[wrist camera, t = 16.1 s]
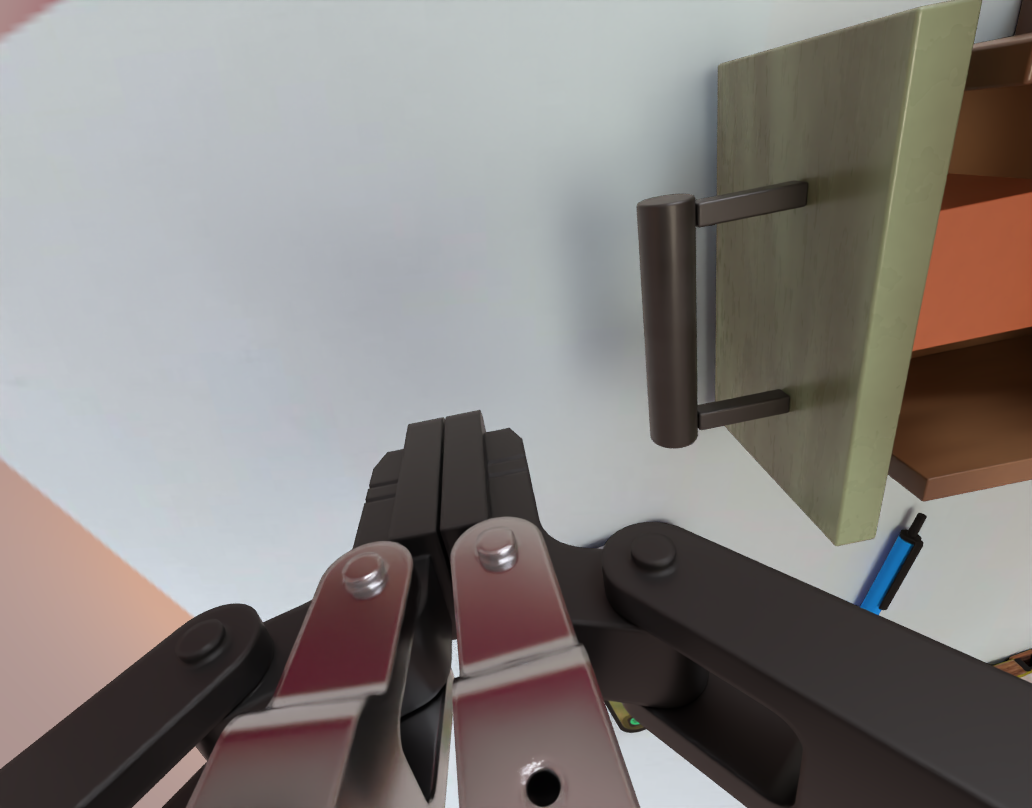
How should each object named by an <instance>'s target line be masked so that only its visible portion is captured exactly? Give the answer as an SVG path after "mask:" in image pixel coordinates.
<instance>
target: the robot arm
mask: <svg viewBox="0 0 1032 808" xmlns="http://www.w3.org/2000/svg"><path fill="white" fill-rule="evenodd" d="M369 487H370V489H368V492H367V496H366V499H365V500H366V503H364V507H363V511H362V515H361V519H360V522H359V526H358V530H357V534H356V538H355V542H354V545H353V549H352V550H351V551H349V552H347V553H345V554H344V555H342V556H341V557H340V558H338V559H337V560H336V561H335V562H334V563H332V565H331V566H330V567H329V568H328V569H327V570H326V572H325V573H324V574H323V576H322V578H321V580H320V582H319V584H318V587H317V589H316V592H315V594H314V597H313V599H312V600H311V601H309V602H307V603H305V604H303V605H301V606H299V607H296V608H294V609H292V610H290V611H287V612H285V613H283V614H281V615H279V616H276V617H274V618H272V619H270V620H267V621H265V622H262V620H261V619H260V617H259V615H258V614H257V612H256V610H255V609H253V608H252V607H251V606H248V605H246V604H227V605H222V606H219V607H215V608H213V609H210V610H208V611H206V612H204V613H202V614H200V615H198V616H196V617H194V618H193V619H191V620H189V621H188V622H187V623H185V624H184V625H182V626H181V627H180V628H178V629H177V630H176V631H175V632H173V633H172V634H171V635H170V636H168V637H167V638H166V639H164V640H163V641H162V642H161V643H159V644H158V645H157V646H156V647H154V648H153V649H152V650H151V651H149V652H148V653H147V654H145V655H144V656H143V657H142V658H141V659H139V660H138V661H137V662H135V663H134V664H133V665H132V666H130V667H129V668H128V669H126V670H125V671H124V672H123V673H121V674H120V675H119V676H118V677H116V678H115V679H114V680H113V681H111V682H110V683H109V684H107V685H106V686H105V687H104V688H102V689H101V690H100V691H99V692H98V693H96V694H95V695H94V696H92V697H91V698H90V699H88V700H87V701H86V702H85V703H84V704H82V705H81V706H80V707H78V708H77V709H76V710H75V711H73V712H72V713H71V714H70V715H69V716H67V717H66V718H64V720H62V721H61V722H59V723H58V724H57V725H56V726H54V727H53V728H52V729H51V730H49V731H48V732H47V733H46V734H44V735H43V736H42V737H41V738H39V739H38V740H37V741H35V742H34V743H33V744H32V745H30V746H29V747H28V748H27V749H25V750H24V751H23V752H21V753H20V754H19V755H18V756H16V757H15V758H14V759H13V760H11V761H10V762H9V763H7V764H6V765H5V766H4V767H3V768H2V769H0V808H132V807H133V806H134V805H135V804H136V803H137V802H138V801H139V800H140V799H141V798H142V797H143V796H144V795H145V794H146V793H147V792H148V791H149V790H150V789H151V788H152V787H154V786H155V784H156V783H158V782H159V780H160V779H162V778H163V777H164V776H165V774H167V773H168V772H169V771H170V770H171V769H172V768H173V767H174V766H175V765H176V764H177V763H178V762H179V761H180V760H181V759H182V758H183V757H184V756H185V755H186V754H187V753H188V752H189V751H191V749H193V748H194V747H195V746H196V748H197V749H198V750H199V751H200V753H201V754H202V755H203V756H204V758H205V759H206V760H207V762H206V763H205V765H203V766H202V767H201V768H200V769H199V770H198V771H197V772H196V773H195V774H194V775H193V776H192V777H191V779H190V780H189V781H188V782H187V783H186V784H185V785H184V786H183V787H182V788H181V789H180V790H179V791H178V792H177V793H176V794H175V795H174V796H173V797H172V798H171V799H170V800H169V801H168V802H167V803H166V804H165V805H164V806H163V807H162V808H445V800H446V788H447V776H448V765H449V753H450V741H451V729H452V718H453V719H454V734H455V749H456V764H457V780H458V795H459V808H640V806H639V803H638V800H637V797H636V794H635V791H634V788H633V785H632V782H631V779H630V776H629V773H628V770H627V767H626V765H625V762H624V759H623V756H622V753H621V750H620V747H619V744H618V741H617V738H616V735H615V732H614V729H613V726H612V723H611V720H610V718H609V715H608V712H607V709H606V706H605V703H604V700H606V701H613V702H620V703H622V704H623V706H624V708H625V709H626V711H627V712H628V713H629V715H630V716H631V717H633V718H634V719H635V720H636V721H637V722H638V723H640V724H641V725H642V726H643V727H645V728H646V729H647V730H649V731H650V732H651V733H652V734H654V735H655V736H656V737H658V738H659V739H660V740H661V741H663V742H664V743H665V744H667V745H668V746H669V747H670V748H672V749H673V750H674V751H675V752H677V753H678V754H679V755H681V756H682V757H683V758H684V759H686V760H687V761H688V762H690V763H691V764H692V765H693V766H695V767H696V768H697V769H699V770H700V771H701V772H702V773H704V774H705V775H706V776H707V777H709V778H710V779H711V780H713V781H714V782H715V783H716V784H718V785H719V786H720V787H722V788H723V789H724V790H725V791H727V792H728V793H729V794H730V795H732V796H733V797H734V798H736V799H737V800H738V801H739V802H741V803H742V804H743V805H745V806H746V807H747V808H1032V683H1030V682H1028V681H1026V680H1023V679H1021V678H1019V677H1017V676H1014V675H1012V674H1010V673H1008V672H1005V671H1003V670H1001V669H999V668H996V667H994V666H992V665H990V664H987V663H985V662H983V661H981V660H978V659H976V658H974V657H972V656H969V655H967V654H965V653H963V652H960V651H958V650H956V649H953V648H951V647H949V646H947V645H944V644H942V643H940V642H938V641H935V640H933V639H931V638H929V637H926V636H924V635H922V634H920V633H917V632H915V631H913V630H911V629H908V628H906V627H904V626H902V625H899V624H897V623H895V622H893V621H890V620H888V619H886V618H884V617H881V616H879V615H877V614H875V613H872V612H870V611H868V610H866V609H863V608H861V607H859V606H856V605H854V604H852V603H850V602H847V601H845V600H843V599H841V598H838V597H836V596H834V595H832V594H829V593H827V592H825V591H823V590H820V589H818V588H816V587H814V586H811V585H809V584H807V583H805V582H802V581H800V580H798V579H796V578H793V577H791V576H789V575H787V574H784V573H782V572H780V571H778V570H775V569H773V568H771V567H768V566H766V565H764V564H762V563H759V562H757V561H755V560H753V559H750V558H748V557H746V556H744V555H741V554H739V553H737V552H735V551H732V550H730V549H728V548H726V547H723V546H721V545H719V544H717V543H714V542H712V541H710V540H708V539H705V538H703V537H701V536H699V535H696V534H694V533H692V532H690V531H687V530H685V529H683V528H680V527H678V526H675V525H671V524H667V523H661V522H643V523H637V524H633V525H630V526H627V527H625V528H623V529H621V530H619V531H617V532H616V533H615V534H613V535H612V536H611V537H610V538H609V539H608V540H607V542H606V544H605V545H604V547H603V549H597V548H582V547H575V546H570V545H567V544H564V543H561V542H559V541H557V540H556V539H554V538H552V537H551V536H550V535H548V533H547V532H546V531H545V530H544V529H543V527H542V526H541V523H540V520H539V516H538V511H537V507H536V502H535V497H534V492H533V488H532V483H531V478H530V474H529V469H528V464H527V459H526V455H525V450H524V445H523V440H522V438H520V437H519V436H518V435H517V434H516V433H515V432H514V431H512V430H511V429H510V428H506V429H501V430H496V431H491V432H486V429H485V425H484V421H483V417H482V413H481V410H477V411H472V412H467V413H462V414H457V415H452V416H447V417H446V419H445V418H444V417H442V418H437V419H432V420H427V421H422V422H417V423H412V424H409V425H408V428H407V433H406V439H405V445H404V449H401V450H396V451H391V452H387V453H386V455H385V456H384V457H383V458H382V459H381V460H380V462H379V463H378V464H377V465H376V466H375V468H374V469H373V473H372V476H371V480H370V484H369ZM455 639H457V644H458V656H459V669H460V676H459V677H457V678H454V674H453V671H452V668H451V661H452V640H455Z"/></svg>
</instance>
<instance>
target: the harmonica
mask: <svg viewBox="0 0 1032 808" xmlns="http://www.w3.org/2000/svg"><path fill="white" fill-rule="evenodd" d="M993 666H994V667H996V668H999V669H1001V670H1003V671H1005V672H1008V673H1010V674H1012V675H1014V676H1017V677H1019V678H1021V679H1023V680H1026V681H1028V682H1030V683H1032V649H1031V650H1028V651H1025V652H1022V653H1019V654H1016V655H1013V656H1011V657H1009V661H1006V662H1002V663H999V664H996V665H993Z"/></svg>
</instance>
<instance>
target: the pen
mask: <svg viewBox="0 0 1032 808" xmlns="http://www.w3.org/2000/svg"><path fill="white" fill-rule="evenodd" d="M926 518H927V516H926V515H924V514H922V513H918V514H917V516H916V518H915V520H914V521H913V523H912V525H911V527H910V528H909V530H906V529H904V530H902V531H901V532H900V534H899V536H898V538H897V540H896V542H895V543H894V545H893V547H892V549H891V551H890V553H889V555H888V556H887V558H886V560H885V562H884V564H883V566H882V568H881V569H880V571H879V573H878V575H877V577H876V579H875V580H874V582H873V584H872V586H871V588H870V590H869V592H868V593H867V595H866V597H865V599H864V601H863V603H862V604H861V606H860V607H861V608H863V609H866V610H868V611H870V612H872V613H875V614H877V615H879V613H880V612H881V610H886V609H887V608H888V607H889V605H890V603H891V601H892V599H893V598H894V596H895V594H896V592H897V591H898V589H899V587H900V585H901V584H902V582H903V580H904V578H905V577H906V575H907V573H908V571H909V570H910V568H911V566H912V564H913V563H914V561H915V559H916V557H917V555H918V554H919V552H920V550H921V548H922V547H923V541H921V537H920V536H919V535H918V532H919V530H920V529H921V527H922V525H923V523H924V521H925V519H926Z"/></svg>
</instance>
